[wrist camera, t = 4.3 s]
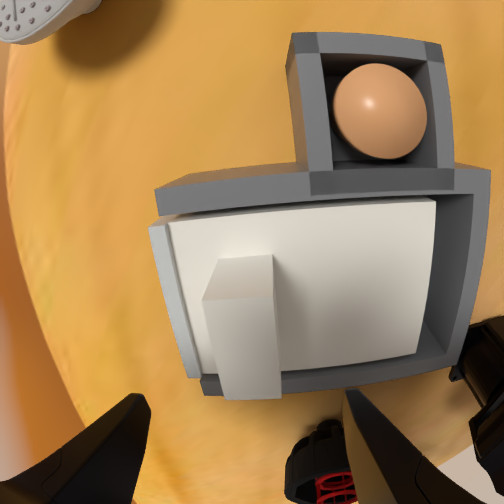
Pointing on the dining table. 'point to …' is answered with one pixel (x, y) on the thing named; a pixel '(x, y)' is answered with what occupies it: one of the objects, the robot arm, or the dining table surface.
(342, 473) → the black tall rounded body
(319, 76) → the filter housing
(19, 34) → the showerhead
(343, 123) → the tan rounded piece
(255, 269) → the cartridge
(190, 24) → the dining table surface
